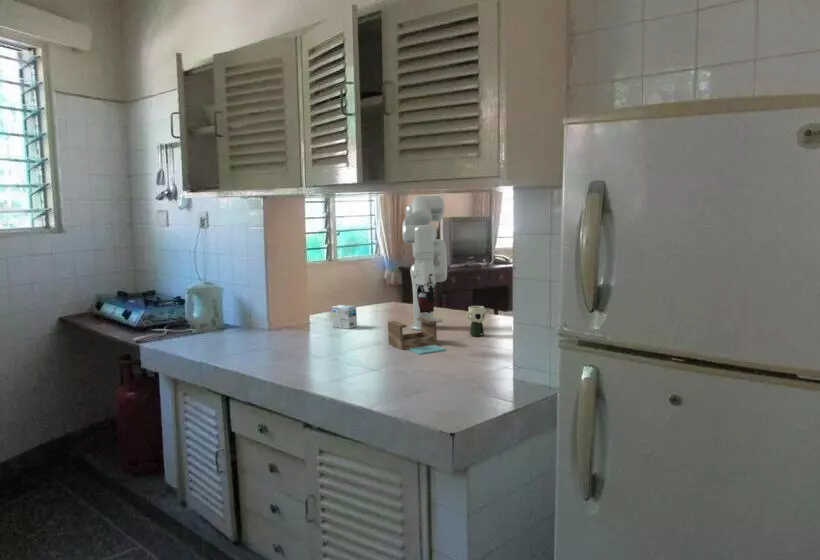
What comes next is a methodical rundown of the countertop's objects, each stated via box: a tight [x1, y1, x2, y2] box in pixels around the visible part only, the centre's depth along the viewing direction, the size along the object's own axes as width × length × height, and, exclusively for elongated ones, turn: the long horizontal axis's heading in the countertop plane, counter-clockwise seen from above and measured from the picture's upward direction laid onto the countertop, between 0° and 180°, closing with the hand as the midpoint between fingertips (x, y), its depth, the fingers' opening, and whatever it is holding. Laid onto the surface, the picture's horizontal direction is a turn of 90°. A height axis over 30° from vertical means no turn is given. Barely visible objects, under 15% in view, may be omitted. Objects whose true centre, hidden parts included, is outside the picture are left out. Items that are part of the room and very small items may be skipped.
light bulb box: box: [331, 304, 358, 330], centre depth 316 cm, size 11×7×11 cm, turn 58°
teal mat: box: [408, 344, 447, 355], centre depth 261 cm, size 12×10×1 cm
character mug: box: [466, 305, 487, 337], centre depth 285 cm, size 11×7×13 cm, turn 125°
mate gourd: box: [413, 276, 436, 313], centre depth 259 cm, size 8×8×15 cm
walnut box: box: [387, 317, 438, 351], centre depth 272 cm, size 17×12×10 cm
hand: (425, 300), depth 259 cm, fingers closed on mate gourd, 7 cm apart
